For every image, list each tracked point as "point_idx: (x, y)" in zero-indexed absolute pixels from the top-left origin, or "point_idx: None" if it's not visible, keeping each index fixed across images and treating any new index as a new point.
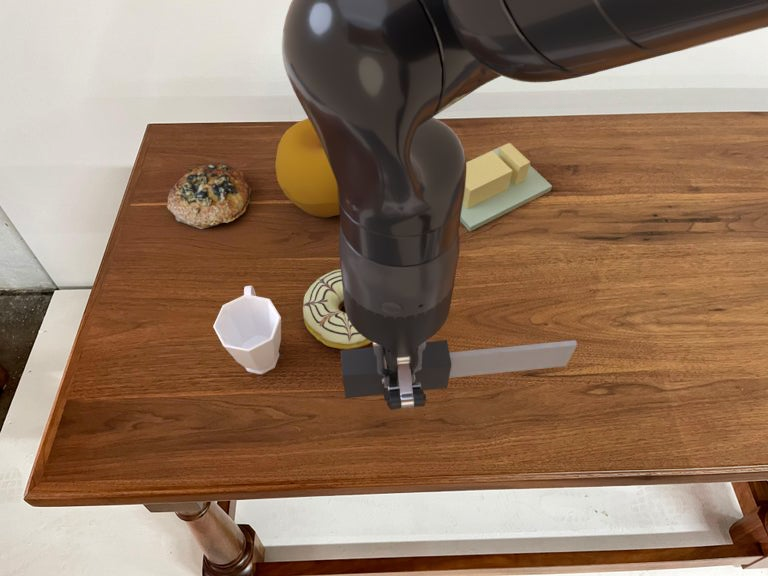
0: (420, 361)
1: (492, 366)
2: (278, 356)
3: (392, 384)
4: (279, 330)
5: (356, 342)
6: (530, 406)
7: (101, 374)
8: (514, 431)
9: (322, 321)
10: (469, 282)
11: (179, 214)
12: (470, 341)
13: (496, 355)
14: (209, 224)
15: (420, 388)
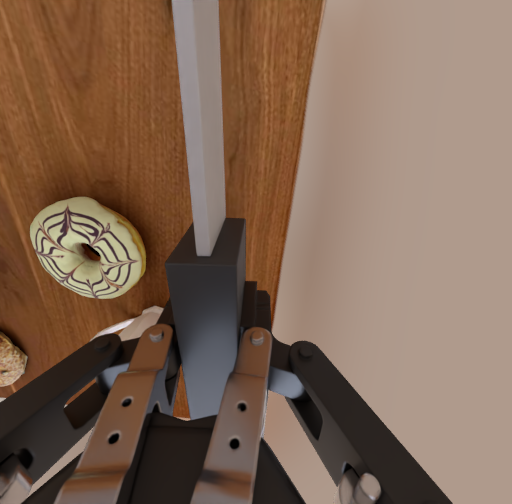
0: (262, 416)
1: (216, 124)
2: (157, 307)
3: (277, 392)
4: (134, 338)
5: (138, 252)
6: (221, 18)
7: (177, 404)
8: (255, 59)
9: (116, 286)
10: (14, 71)
11: (15, 379)
12: (119, 95)
13: (205, 123)
14: (19, 357)
15: (380, 487)
